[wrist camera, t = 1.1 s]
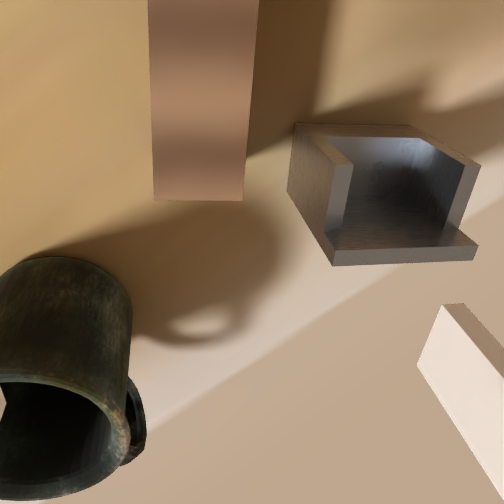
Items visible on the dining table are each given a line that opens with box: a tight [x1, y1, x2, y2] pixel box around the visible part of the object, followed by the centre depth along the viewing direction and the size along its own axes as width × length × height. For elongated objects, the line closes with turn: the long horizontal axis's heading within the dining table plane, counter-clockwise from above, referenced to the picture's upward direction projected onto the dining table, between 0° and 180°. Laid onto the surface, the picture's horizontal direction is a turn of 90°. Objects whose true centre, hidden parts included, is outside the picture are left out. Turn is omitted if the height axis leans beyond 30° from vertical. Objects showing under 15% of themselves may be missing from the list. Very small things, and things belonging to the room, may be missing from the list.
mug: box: [0, 257, 147, 501], centre depth 29 cm, size 11×15×12 cm
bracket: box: [287, 123, 481, 266], centre depth 27 cm, size 5×9×10 cm, turn 86°
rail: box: [148, 0, 259, 201], centre depth 22 cm, size 18×5×6 cm, turn 175°
